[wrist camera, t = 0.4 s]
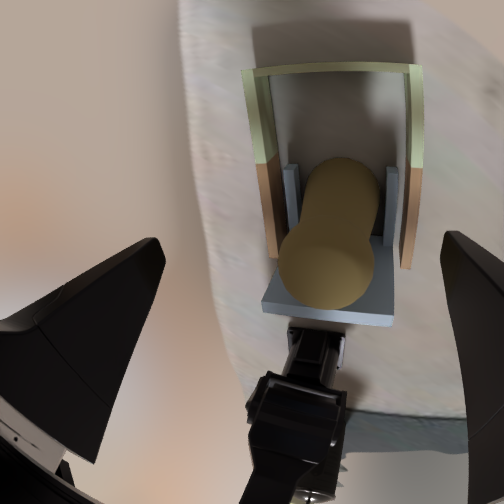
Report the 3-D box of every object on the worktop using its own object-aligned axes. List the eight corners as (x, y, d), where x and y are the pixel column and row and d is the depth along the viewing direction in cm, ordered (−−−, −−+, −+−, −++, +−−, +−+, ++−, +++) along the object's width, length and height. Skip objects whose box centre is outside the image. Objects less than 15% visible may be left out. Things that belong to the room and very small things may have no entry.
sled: (390, 247, 24) (391, 327, 17) (295, 240, 27) (262, 312, 20) (396, 167, 20) (409, 226, 13) (287, 163, 23) (246, 217, 16)
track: (407, 247, 24) (410, 269, 21) (279, 238, 28) (269, 257, 25) (414, 65, 16) (421, 65, 13) (256, 69, 20) (240, 70, 17)
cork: (327, 237, 26) (297, 335, 17) (291, 176, 24) (239, 254, 16) (392, 212, 22) (397, 312, 14) (359, 144, 20) (350, 211, 12)
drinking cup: (300, 418, 47) (262, 522, 31) (333, 409, 42) (296, 528, 26) (330, 434, 47) (298, 532, 32) (362, 427, 43) (333, 536, 27)
